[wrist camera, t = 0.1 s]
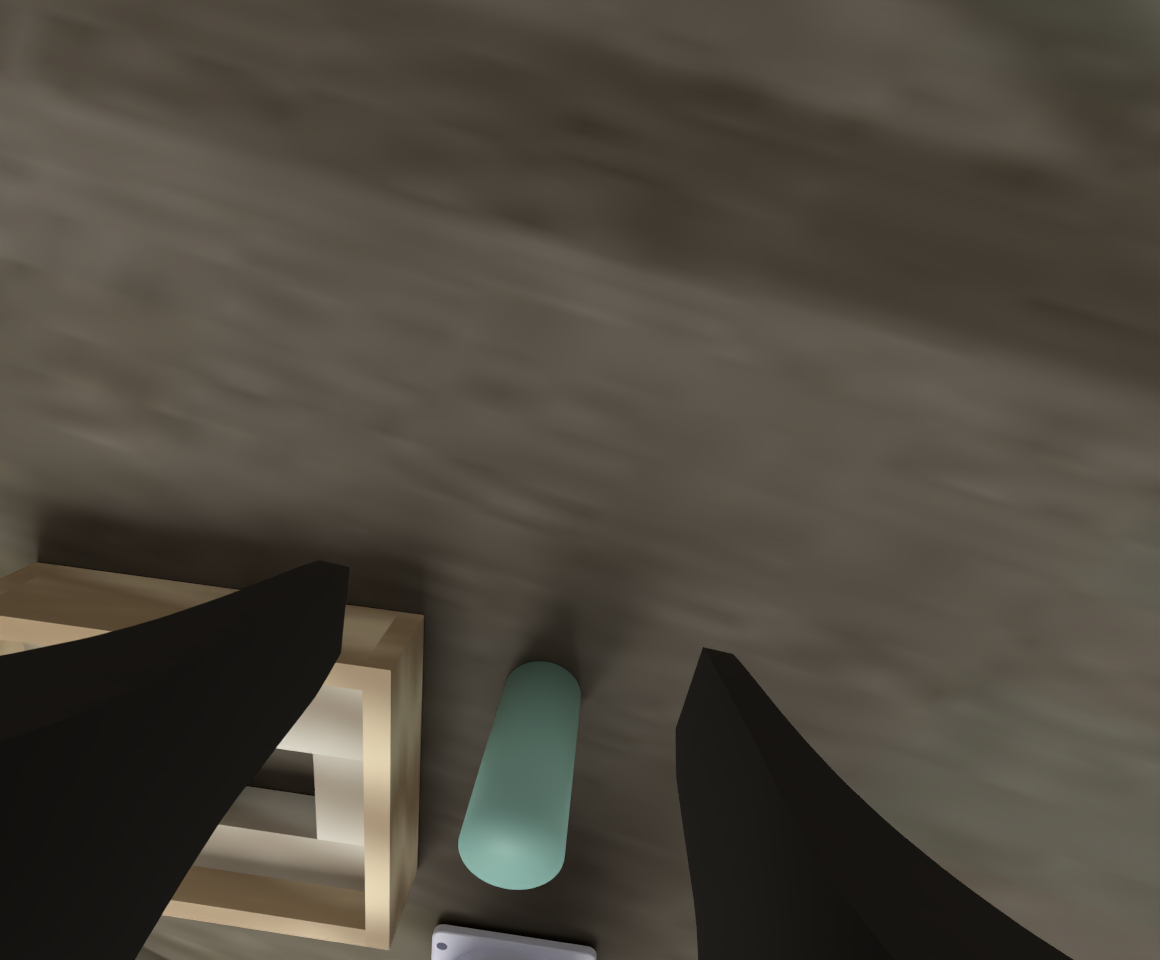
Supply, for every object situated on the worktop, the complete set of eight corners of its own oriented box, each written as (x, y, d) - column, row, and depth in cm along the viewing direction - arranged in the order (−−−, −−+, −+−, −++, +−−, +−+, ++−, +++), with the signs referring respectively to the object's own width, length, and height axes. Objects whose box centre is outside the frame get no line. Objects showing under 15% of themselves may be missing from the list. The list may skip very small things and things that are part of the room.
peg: (576, 730, 24) (559, 896, 18) (501, 720, 25) (455, 881, 18) (585, 666, 23) (569, 818, 17) (506, 655, 24) (460, 801, 17)
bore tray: (417, 870, 28) (389, 950, 24) (91, 821, 28) (20, 893, 25) (424, 615, 23) (390, 670, 20) (36, 562, 24) (-60, 607, 20)
